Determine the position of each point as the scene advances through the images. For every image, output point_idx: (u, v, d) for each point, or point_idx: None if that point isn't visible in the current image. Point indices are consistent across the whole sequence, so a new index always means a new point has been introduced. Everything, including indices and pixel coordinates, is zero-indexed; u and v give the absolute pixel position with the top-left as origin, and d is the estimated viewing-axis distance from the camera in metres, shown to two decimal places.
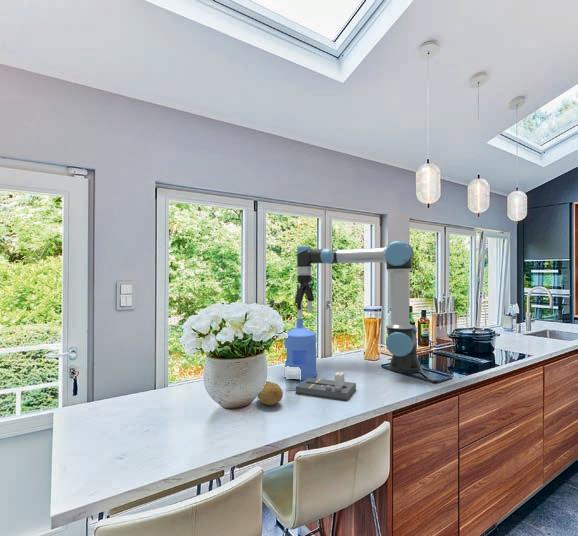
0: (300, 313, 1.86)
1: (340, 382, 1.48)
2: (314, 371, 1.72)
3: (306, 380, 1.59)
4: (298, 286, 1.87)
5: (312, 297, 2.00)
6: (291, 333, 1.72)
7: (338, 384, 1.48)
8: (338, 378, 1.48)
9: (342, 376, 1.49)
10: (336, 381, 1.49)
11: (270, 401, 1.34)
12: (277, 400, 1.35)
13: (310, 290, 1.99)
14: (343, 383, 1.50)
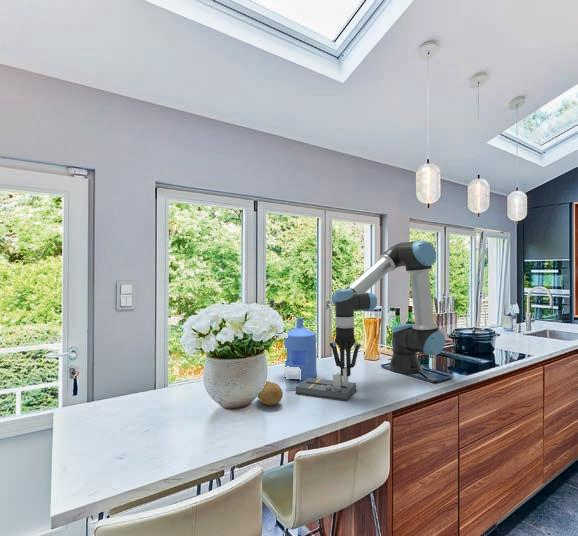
0: None
1: (338, 382, 1.48)
2: (314, 371, 1.72)
3: (306, 380, 1.59)
4: None
5: (351, 363, 1.47)
6: (291, 333, 1.72)
7: (336, 384, 1.49)
8: (336, 377, 1.49)
9: (340, 376, 1.49)
10: (334, 381, 1.49)
11: (270, 401, 1.34)
12: (277, 400, 1.35)
13: None
14: (341, 383, 1.50)
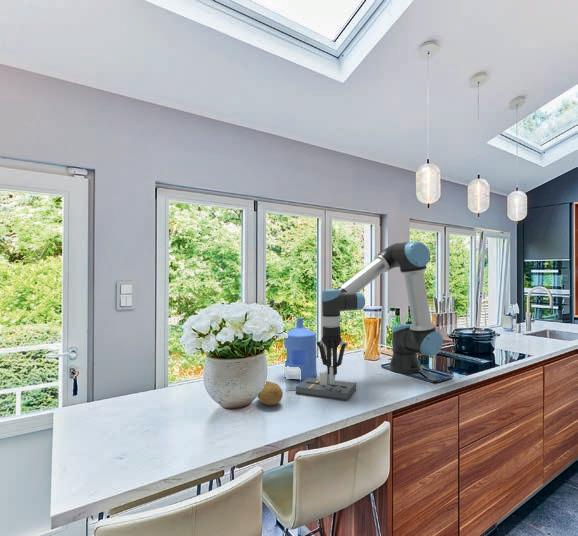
0: None
1: (325, 380, 1.51)
2: (314, 371, 1.72)
3: (306, 380, 1.59)
4: None
5: (337, 362, 1.49)
6: (291, 333, 1.72)
7: (323, 382, 1.51)
8: (323, 376, 1.51)
9: (327, 374, 1.52)
10: (321, 379, 1.51)
11: (270, 401, 1.34)
12: (277, 400, 1.35)
13: (340, 351, 1.49)
14: (328, 381, 1.53)
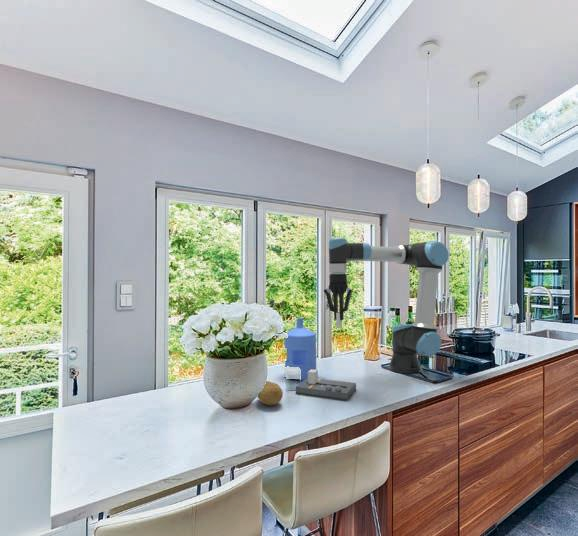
0: None
1: (313, 379, 1.53)
2: None
3: (306, 380, 1.59)
4: None
5: (344, 307, 1.55)
6: (291, 333, 1.72)
7: (311, 381, 1.53)
8: (311, 375, 1.53)
9: (315, 373, 1.54)
10: (309, 378, 1.54)
11: (270, 401, 1.34)
12: (277, 400, 1.35)
13: None
14: (316, 380, 1.55)
